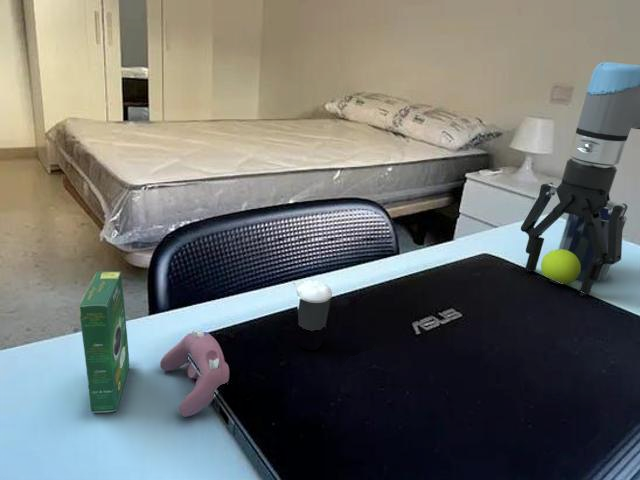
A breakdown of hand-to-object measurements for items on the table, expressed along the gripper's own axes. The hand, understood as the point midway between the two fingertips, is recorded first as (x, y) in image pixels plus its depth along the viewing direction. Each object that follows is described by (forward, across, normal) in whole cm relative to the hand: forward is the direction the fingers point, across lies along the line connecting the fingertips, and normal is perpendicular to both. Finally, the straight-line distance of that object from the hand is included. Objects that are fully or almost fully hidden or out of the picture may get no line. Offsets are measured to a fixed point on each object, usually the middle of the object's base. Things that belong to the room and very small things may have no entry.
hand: (556, 281), depth 91 cm
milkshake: (+1, -10, -50) cm, 51 cm away
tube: (0, 0, +10) cm, 10 cm away
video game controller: (+1, -10, -66) cm, 67 cm away
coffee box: (+1, -15, -74) cm, 76 cm away
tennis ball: (-3, 0, 0) cm, 3 cm away
